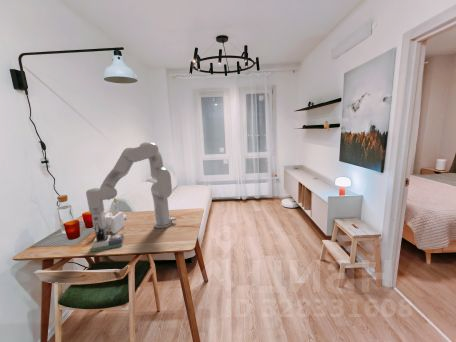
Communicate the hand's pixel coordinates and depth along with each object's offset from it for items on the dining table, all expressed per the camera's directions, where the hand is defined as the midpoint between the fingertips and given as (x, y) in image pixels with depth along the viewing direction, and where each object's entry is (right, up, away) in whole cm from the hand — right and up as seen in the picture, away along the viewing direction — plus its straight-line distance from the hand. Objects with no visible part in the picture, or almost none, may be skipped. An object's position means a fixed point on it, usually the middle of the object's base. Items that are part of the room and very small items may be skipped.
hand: (101, 237), depth 130 cm
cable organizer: (-4, -2, +20) cm, 21 cm away
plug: (0, -2, 0) cm, 2 cm away
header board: (+3, -5, +2) cm, 6 cm away
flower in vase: (-9, +2, +37) cm, 39 cm away
